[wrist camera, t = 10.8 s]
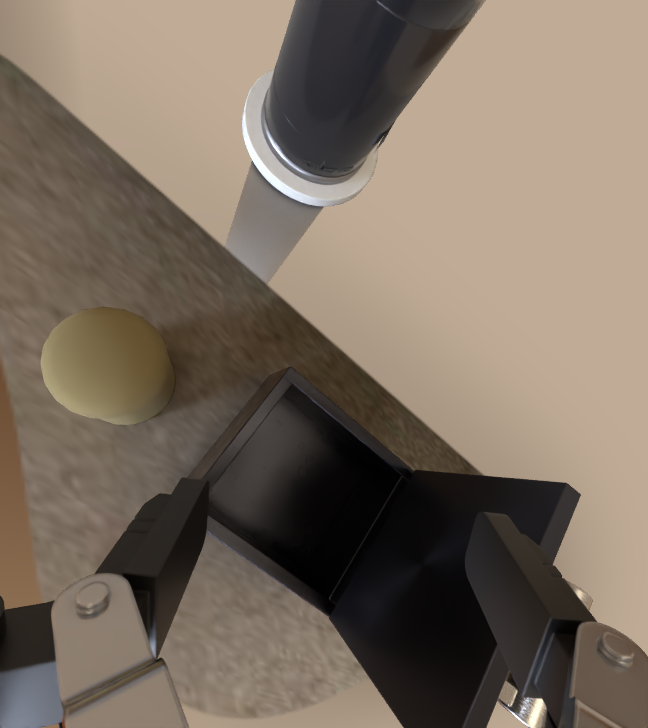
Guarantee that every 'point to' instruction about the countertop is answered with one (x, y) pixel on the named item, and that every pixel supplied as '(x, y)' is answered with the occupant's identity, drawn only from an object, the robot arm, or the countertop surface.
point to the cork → (108, 366)
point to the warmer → (300, 488)
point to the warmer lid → (444, 599)
